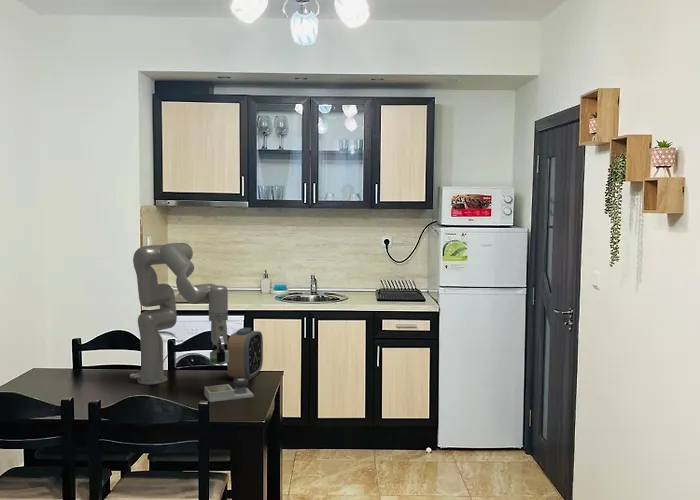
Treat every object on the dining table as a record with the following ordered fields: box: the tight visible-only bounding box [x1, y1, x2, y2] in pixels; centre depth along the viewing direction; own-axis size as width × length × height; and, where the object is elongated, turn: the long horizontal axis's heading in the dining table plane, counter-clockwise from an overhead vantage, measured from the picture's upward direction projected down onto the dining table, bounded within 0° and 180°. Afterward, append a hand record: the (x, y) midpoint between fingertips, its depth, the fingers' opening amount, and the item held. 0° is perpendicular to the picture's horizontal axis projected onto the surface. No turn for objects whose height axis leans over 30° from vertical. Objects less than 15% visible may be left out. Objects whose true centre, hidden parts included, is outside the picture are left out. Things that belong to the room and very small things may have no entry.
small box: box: [209, 349, 229, 366], centre depth 270 cm, size 6×6×5 cm
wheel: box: [232, 378, 249, 388], centre depth 274 cm, size 6×6×5 cm
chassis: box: [203, 383, 255, 403], centre depth 272 cm, size 18×10×4 cm, turn 113°
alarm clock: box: [226, 327, 264, 381], centre depth 302 cm, size 21×10×22 cm, turn 168°
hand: (218, 359), depth 270 cm, fingers closed on small box, 7 cm apart
